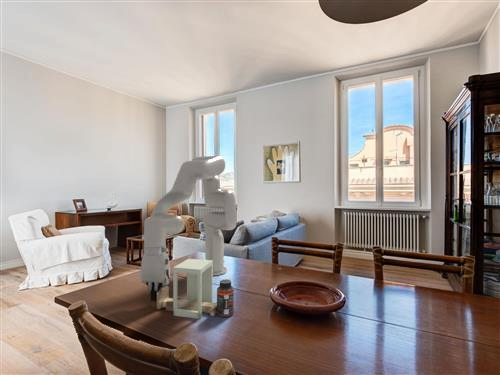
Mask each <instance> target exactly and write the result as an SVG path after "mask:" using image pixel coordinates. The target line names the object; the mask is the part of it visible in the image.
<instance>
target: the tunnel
mask: <svg viewBox="0 0 500 375" xmlns="http://www.w3.org/2000/svg"><path fill="white" fill-rule="evenodd" d="M172 272H173V274H172V276H173V281H172V282H173V286H172V287H173V296H172V299H173V311H172V312H173V316H174V317H182V318H190V319H197V320H198V319H199V320H202V318H203V312H202V302H209V303H214V300H213V299H214V283H213V282H214V280H213V279H214V278H213V277H214V275H213V260H205V259H200V258H199V259H198V258H197V259H194V258H187V259H185V260H184V261H182V262H180V263H178V264H177V265H175V266H173V271H172ZM178 273H184V274H186V300H191V301H198V311H193V310H184V309H178V296H179V295H178V285H179V284H178V281H179V280H178V279H179V278H178Z"/></svg>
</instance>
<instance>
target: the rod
mask: <svg viewBox="0 0 500 375" xmlns="http://www.w3.org/2000/svg"><path fill="white" fill-rule="evenodd" d="M169 291H170V287H169V286H168V285H166V286H163V287H161V288H160V290H159V291H158V292H157V300H156V309H157V310H161V309H163V308H165V309H166V302H167V301H173V297H170V295H169V294H170V292H169ZM178 309H184V310H193V311H198V301H191V300H187V299H182V298H181V299H178ZM202 313H207V314H209V317H215V315H216V314H217V301H215V302H213V303H209V302H202Z"/></svg>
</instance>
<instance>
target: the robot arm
mask: <svg viewBox="0 0 500 375" xmlns="http://www.w3.org/2000/svg"><path fill="white" fill-rule="evenodd" d="M225 169H226V161H225V159H224V158H223V156H220V155H209V156H207V155H206V156H205V155H204V156H196V157H193V158H192V159H191V160H188V161H185V162H183V163H182V164H181V166H180V168H179V171H178V172H177V175H176V178H175V180H174V183H173V185H172V187H171V189H170V190H169V191H168V192H167V193H166V194H165V195H163V196H162V197H161V198H160V199H159V200H158V201H157V203H156V204H155V206H154V207H153V209H152V212H151V213H150V216H149V217H147V218H145V219H144V223H143V227H144V228H143V230H144V232H143V237H144V238H143V240H144V241H143V243H144V245H143V246H144V247H143V251H144V252H143V254H142V258H141V264H140V279H141V284H144V285H146V286H147V287H148V290H149V291H150V295H149V296H150V302H157V292H158V291H159V290H161V289H162V288H163V287H165V286H168V285H169V283H170V281H169V279H171V264H170V263H171V262H170V258H169V253H168V252H169V248H168V247H167V245H166V244H167V242H166V241H167V235H176V234H179V233H181V232H182V231H183V230H184V229H185V220H184V218H183V217H182V216H179V215H177V214H168V212H169V211H170V210H171V209H172V208H173V207H174V206H176V205H178V204H181V203H182V202H185V201H187V200H188V199H190V198H191V197H192V194H193V191H194V189H195V186H196V183H197V181H200V180H201V182H202V186H203V187H202V189H203V199H204V200H203V201H204V205H205V207H206V208H209V209H214V210H209V211H206V212H204V214H203V217H202V223H203V228H204V260H213V276H220V275H224V274H226V273H227V271H228V269H227V268H226V267H225V264H224V263H225V260H224V259H225V258H224V257H225V255H224V254H225V253H224V251H225V249H224V246H225V240H224V234H223V232H222V230H223V231H232V230H234V229H235V228H236V226H237V223H238V220H237V218H238V217H237V216H238V214H237V204H236V203H237V202H236V197H235V194H234V192H233V191H232V190H229V189H222V188H221V181H220V177H219V175H221V174H222V173H223V172H224V171H225ZM215 209H216V210H215ZM217 209H218V210H217Z"/></svg>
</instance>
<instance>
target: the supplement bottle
mask: <svg viewBox="0 0 500 375" xmlns="http://www.w3.org/2000/svg"><path fill="white" fill-rule="evenodd" d="M216 302H217V312H216V314H217V315H218V316H219V317H220V318H221V317H222V318H229V317H231V316H232V315H234V313H235V312H234V311H235V308H234V307H235V289H234V286H232V280H231V279H221V280H220V281H219V286H218V287H217V288H216Z"/></svg>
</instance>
